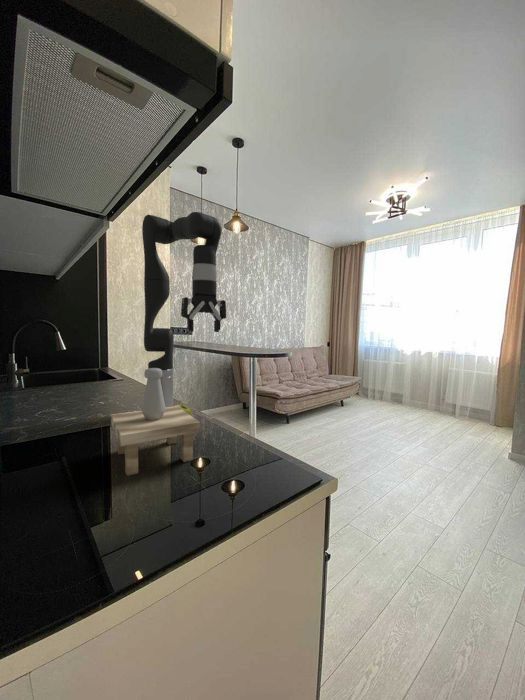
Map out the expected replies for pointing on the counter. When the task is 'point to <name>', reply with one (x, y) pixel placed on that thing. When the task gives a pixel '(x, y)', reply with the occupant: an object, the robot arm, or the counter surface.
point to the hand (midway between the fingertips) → (204, 331)
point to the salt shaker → (153, 395)
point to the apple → (185, 408)
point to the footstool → (153, 433)
